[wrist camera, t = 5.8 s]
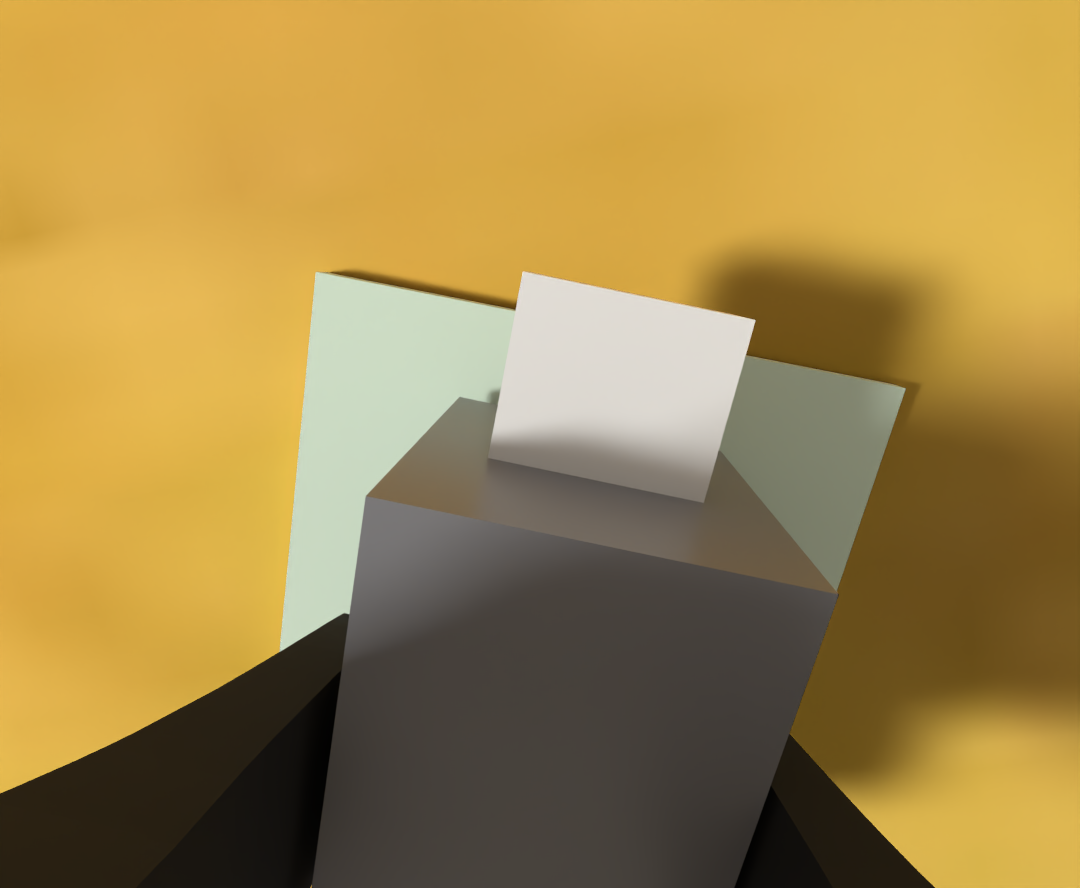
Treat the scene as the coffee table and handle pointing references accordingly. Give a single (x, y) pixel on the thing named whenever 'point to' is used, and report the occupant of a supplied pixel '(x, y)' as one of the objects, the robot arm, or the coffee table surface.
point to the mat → (476, 373)
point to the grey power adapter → (571, 622)
